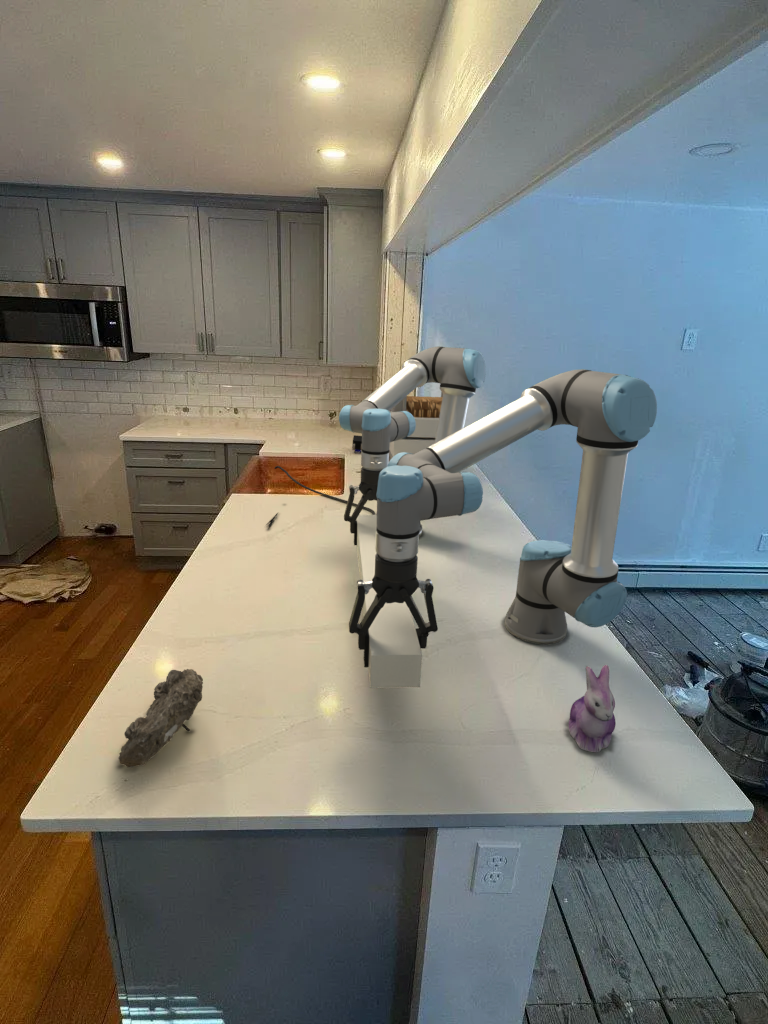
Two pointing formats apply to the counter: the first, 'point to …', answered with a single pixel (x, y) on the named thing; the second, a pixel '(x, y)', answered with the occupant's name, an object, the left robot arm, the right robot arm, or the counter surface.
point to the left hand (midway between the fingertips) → (372, 543)
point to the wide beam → (387, 624)
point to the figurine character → (357, 443)
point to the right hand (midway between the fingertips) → (391, 662)
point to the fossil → (162, 717)
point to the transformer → (418, 424)
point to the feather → (271, 521)
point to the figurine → (594, 713)
